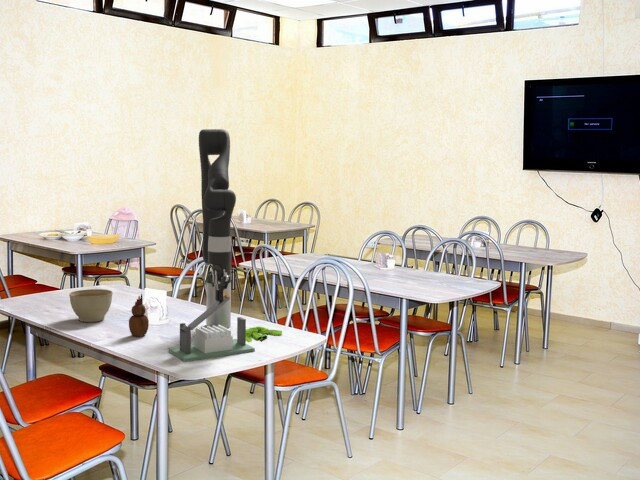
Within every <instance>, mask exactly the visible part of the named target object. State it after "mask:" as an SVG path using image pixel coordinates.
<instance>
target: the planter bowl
mask: <svg viewBox="0 0 640 480" xmlns="http://www.w3.org/2000/svg"><path fill="white" fill-rule="evenodd" d="M68 296H69V301H70V305H71V309H72V310H73V312H74V314H75V315H76V316H77V318H78V321H79V320H80V321H79V322H83V321H84V323H85V322H86V323H95V322H100V321H103V320H105V316H106V315H107V313H108V312H109V310H110V308H111V305H112V301H113V290H109V289H103V288H101V289H100V288H90V289H89V288H88V289H80V290H79V289H78V290H73V291H71V292H69V294H68Z"/></svg>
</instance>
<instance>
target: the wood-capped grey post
mask: <svg viewBox="0 0 640 480" xmlns="http://www.w3.org/2000/svg"><path fill="white" fill-rule="evenodd" d="M223 295H224V296H223V301H219V302H218V301H217V302H216V303H215V304H214V305H212V306H211V307H210V308H209V309H207V310H204V312H202V313H201V314H200V315H199V316H197V318H195V319H194V320H192V322H190V323H189V324H188V325H186V323H185V324H183V325H181V329H182V330H184V331H185V327H186V326H191V331H193V330H194V329H196V328H197V327H198V326H199V325H200V324H202V323H203V322H204V321H205V320H206V318H208V317H209V316H210V315H211V314H212V313H214V312H215V311H216V310H217V309H218V308H220V307H221V306H222V305H223V304H225V303H226V302H227V301H228V300H229V299H230V296H229V295H228V293H227V292H224V291H223Z"/></svg>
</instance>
